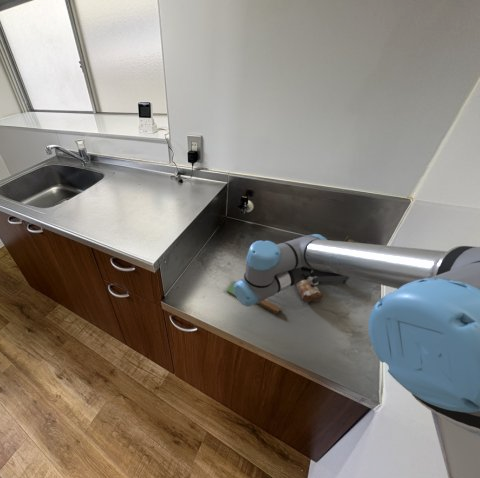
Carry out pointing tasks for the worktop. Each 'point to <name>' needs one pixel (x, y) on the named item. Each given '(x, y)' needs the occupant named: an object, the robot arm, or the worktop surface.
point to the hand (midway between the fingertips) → (334, 251)
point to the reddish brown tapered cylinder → (308, 291)
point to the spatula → (262, 303)
